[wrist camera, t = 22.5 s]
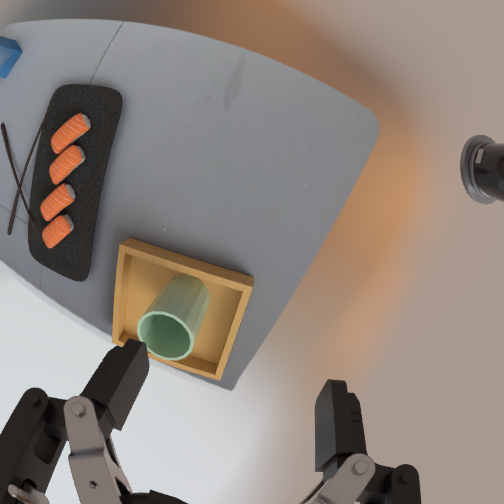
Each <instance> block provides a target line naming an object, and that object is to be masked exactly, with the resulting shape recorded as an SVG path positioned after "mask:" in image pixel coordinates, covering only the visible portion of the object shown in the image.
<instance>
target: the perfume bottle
mask: <svg viewBox="0 0 504 504" xmlns="http://www.w3.org/2000/svg"><path fill="white" fill-rule="evenodd" d="M21 53H22V50H21V49H20V47H19V46H18V44H17V42H16V41H15V40H12V39H8V38H5V37H1V36H0V77H3V78H6V76H7V75H8V73H9V71H10V70H11V68H12V67H13V65H14V63H15V62H16V60H17V59H18V57H19V56H20V55H21Z"/></svg>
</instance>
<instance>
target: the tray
mask: <svg viewBox="0 0 504 504" xmlns="http://www.w3.org/2000/svg"><path fill="white" fill-rule="evenodd" d="M178 275H190V276H193V277H195V278H197V279H199V280H200V281H201V282H202V283H203V284H204V285H205V286H206V288H207V289H208V292H209V295H210V303H209V306H208V310H207V312H206V315H205V318H204V320H203V323H202V326H201V328H200V331H199V334H198V336H197V339H196V342H195V344H194V347H193V350H192V352H191V353H190V354H189V355H188V356H187V357H186V358H183V359H180V360H165V359H162V358H159V357H156V356H155V355H153V354H152V353H151V352H149V351H148V350H147V352H148V357H149V358H152V359H155V360H157V361H160V362H163V363H166V364H169V365H172V366H175V367H177V368H180V369H184V370H187V371H190V372H193V373H196V374H199V375H203V376H206V377H209V378H214V379H216V380H220V379H221V376H222V373H223V370H224V368H225V365H226V362H227V359H228V356H229V354H230V351H231V348H232V345H233V342H234V340H235V337H236V334H237V331H238V328H239V325H240V323H241V320H242V317H243V314H244V311H245V308H246V305H247V303H248V300H249V297H250V294H251V291H252V288H253V281H254V277H251V276H248V275H245V274H241V273H238V272H235V271H232V270H228V269H225V268H222V267H219V266H215V265H212V264H209V263H206V262H203V261H200V260H196V259H193V258H190V257H187V256H184V255H181V254H178V253H175V252H171V251H168V250H165V249H162V248H159V247H156V246H153V245H150V244H147V243H144V242H141V241H138V240H135V239H132V238H129V239H127V240H125V241H124V242H122V243H121V244H120V245H119V253H118V262H117V271H116V281H115V294H114V309H113V336H112V343H115V344H117V345H119V346H122V347H123V346H124V344H125V343H126V341H127V340H128V339H129V338H132V339H136V340H139V337H138V334H137V324H138V321H139V320H140V318H141V317H142V315H143V314H144V313H145V311H146V310H147V309H148V307H149V306H150V305H151V303H152V302H153V301H154V299H155V298H156V297H157V295H158V294H159V293H160V291H161V290H162V289H163V288H164V286H165V285H166V284H167V282H168V281H169V280H170V279H171V278H173V277H175V276H178ZM139 341H140V340H139Z"/></svg>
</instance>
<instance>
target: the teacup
mask: <svg viewBox="0 0 504 504" xmlns="http://www.w3.org/2000/svg"><path fill="white" fill-rule="evenodd" d="M209 303H210V295H209V292H208V289H207V288H206V286H205V285H204V284H203V283H202V282H201V281H200V280H199V279H197V278H195V277H193V276H190V275H178V276H175V277H173V278H171V279H170V280H169V281H168V282H167V284H166V285H165V286H164V288H163V289H162V290H161V291H160V293H159V294H158V295H157V297H156V298H155V299H154V301H153V302H152V303H151V305H150V306H149V307H148V309H147V310H146V311H145V313H144V314H143V315H142V317H141V318H140V320H139V321H138V324H137V334H138V337H139V340H140V341H142V342H145V343H146V345H147V350H148V351H149V352H151V353H152V354H153V355H155V356H156V357H159V358H162V359H165V360H180V359H183V358H186V357H187V356H188V355H189V354H190V353H191V352H192V350H193V347H194V344H195V342H196V339H197V336H198V334H199V331H200V328H201V326H202V323H203V320H204V318H205V315H206V312H207V310H208V306H209Z"/></svg>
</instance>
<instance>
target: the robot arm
mask: <svg viewBox="0 0 504 504" xmlns="http://www.w3.org/2000/svg"><path fill="white" fill-rule="evenodd" d="M469 171H470V177H471V181H472V184H473V186H474V188H475V190H476V191H477V192H478V193H479V194H480V195H481V196H483V197H487V198H493V199H496V200H499V201H503V202H504V144H498V143H479V144H478V145H476V146H475V148H474V149H473V151H472V153H471V157H470V163H469ZM148 371H149V358H148V352H147V345H146V343H145V342H142V341H139V340H136V339H132V338H129V339H128V340H127V341H126V343H125V344H124V346H123V347H120V346H116V347H114V348H113V349H111V350H110V351H108V353H107V354H106V356H105V357H104V359H103V361H102V362H101V363H100V365H99V366H98V369H97V370H96V371H95V373H94V374H93V376H92V377H91V379H90V380H89V382H88V384H87V385H86V387H85V388H84V390H83V392H82V393H81V394H80V395H79V396H74V397H72V398H70V399H68V400H63V399H57V398H52V397H48V396H47V394H46V393H45V391H43V390H42V389H40V388H30V389H28V390H27V391H26V392H25V393H24V394H23V396H22V398H21V399H20V401H19V403H18V405H17V406H16V408H15V409H14V411H13V413H12V414H11V416H10V418H9V420H8V422H7V423H6V425H5V427H4V429H3V431H2V433H1V434H0V504H49V501H48V499H47V497H46V496H45V492H46V489H47V487H48V484H49V482H50V479H51V477H52V474H53V472H54V469H55V467H56V464H57V462H58V459H59V457H60V455H61V452H62V450H63V448H64V446H65V443H66V441H69V445H70V449H71V454H69V456H68V460H69V465H70V469H71V473H72V476H73V480H74V484H75V487H76V490H77V493H78V497H79V500H80V502H81V504H187V503H186V502H183V501H182V500H180V499H178V498H176V497H172V496H169V495H165V494H162V493H159V492H156V491H153V490H150V492H149V493H133V492H132V490H131V487H130V485H129V482H128V480H127V478H126V476H125V475H124V473H123V471H122V468H121V466H120V463H119V460H118V457H117V454H116V451H115V448H114V445H113V442H112V439H111V435H110V434H111V432H112V429H113V428H115V429H117V430H120V431H121V429H122V427H123V425H124V423H125V421H126V419H127V416H128V414H129V412H130V410H131V408H132V406H133V404H134V402H135V399H136V397H137V395H138V393H139V391H140V389H141V387H142V385H143V383H144V381H145V379H146V377H147V375H148ZM315 472H323V478H322V479H321V481H320V482H319V483H318V484H317V485H316V486H315V487H314V488H313V489H312V491H310V493H309V494H308V495H307V496H306V497H305V498H304V499H303V500H302V501H301V502H300V503H299V504H353V503H354V502H355V501H357V502H360V504H421V494H420V482H419V475H418V472H417V470H416V469H415V468H414V467H413V466H411V465H408V464H403V465H400V466H398V467H397V468H391V467H386V466H382V465H378V464H376V463H375V462H374V461H373V460H372V459H371V458H370V457H369V456H368V454H367V451H366V443H365V435H364V428H363V423H362V414H361V408H360V402H359V400H358V399H357V397H356V395H355V394H354V393H348V391H347V385H346V382H345V381H343V380H330V379H329V380H327V382H326V383H325V385H324V387H323V389H322V390H321V392H320V394H319V396H318V398H317V400H316V404H315Z"/></svg>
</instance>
